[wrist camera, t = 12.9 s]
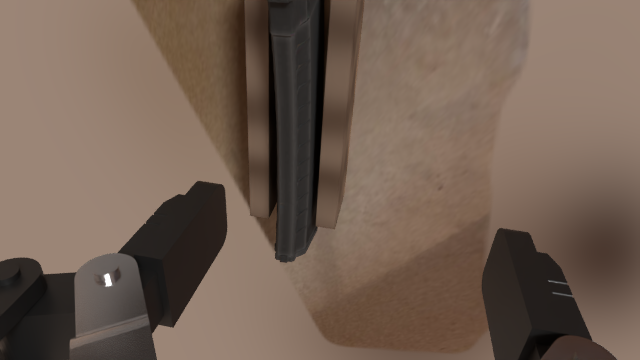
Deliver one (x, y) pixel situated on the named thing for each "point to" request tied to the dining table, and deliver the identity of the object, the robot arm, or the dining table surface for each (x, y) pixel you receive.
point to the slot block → (337, 106)
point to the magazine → (297, 119)
